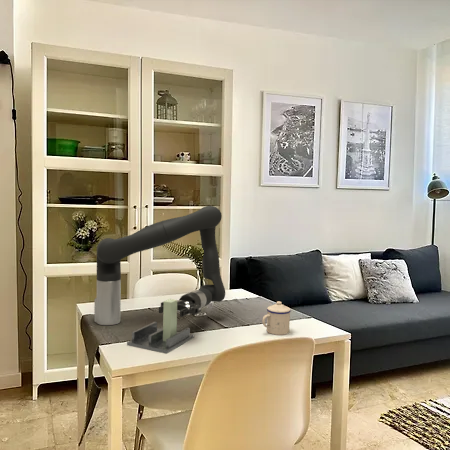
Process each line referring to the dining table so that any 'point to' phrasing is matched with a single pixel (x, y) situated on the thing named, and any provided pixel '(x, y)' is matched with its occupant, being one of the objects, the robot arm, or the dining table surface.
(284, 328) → the teacup with lid
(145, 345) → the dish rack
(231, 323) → the dining table surface
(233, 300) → the dining table surface
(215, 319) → the dining table surface
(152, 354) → the dining table surface
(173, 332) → the pale green rectangular block
